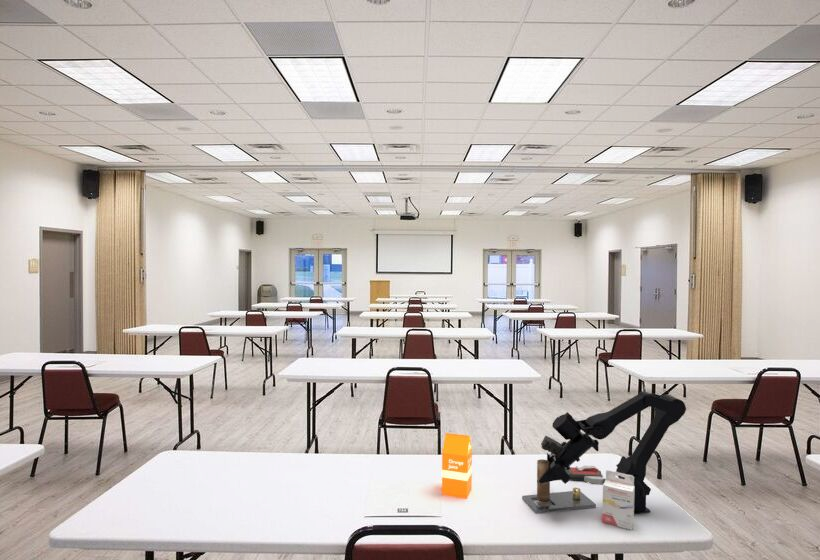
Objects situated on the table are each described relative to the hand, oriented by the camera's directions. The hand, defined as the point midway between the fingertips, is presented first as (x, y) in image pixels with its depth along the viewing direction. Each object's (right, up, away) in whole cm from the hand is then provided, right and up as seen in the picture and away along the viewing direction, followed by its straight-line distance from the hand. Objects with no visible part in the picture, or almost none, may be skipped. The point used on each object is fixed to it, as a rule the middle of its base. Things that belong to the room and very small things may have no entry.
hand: (539, 479), depth 158 cm
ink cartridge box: (+21, -9, -11) cm, 25 cm away
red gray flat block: (+25, -8, +19) cm, 33 cm away
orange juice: (-26, -8, +9) cm, 29 cm away
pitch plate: (+7, -8, +1) cm, 11 cm away
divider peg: (+1, -7, 0) cm, 7 cm away
